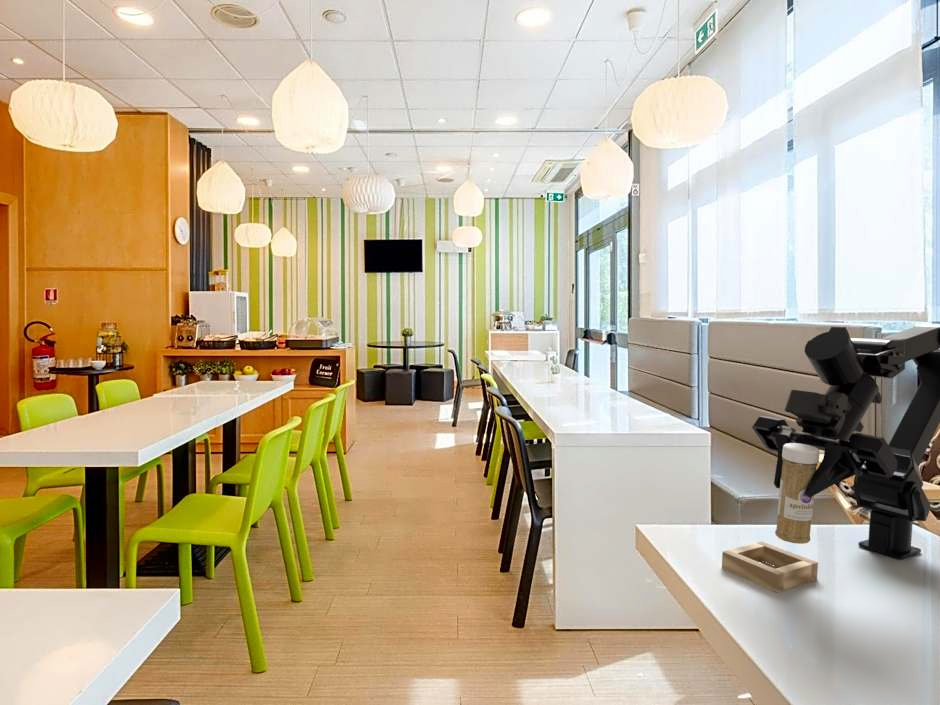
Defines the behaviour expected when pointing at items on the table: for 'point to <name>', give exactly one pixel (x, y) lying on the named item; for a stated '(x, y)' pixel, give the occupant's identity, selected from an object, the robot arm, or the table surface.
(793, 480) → the sprinkles bottle
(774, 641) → the table surface
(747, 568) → the block
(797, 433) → the robot arm
